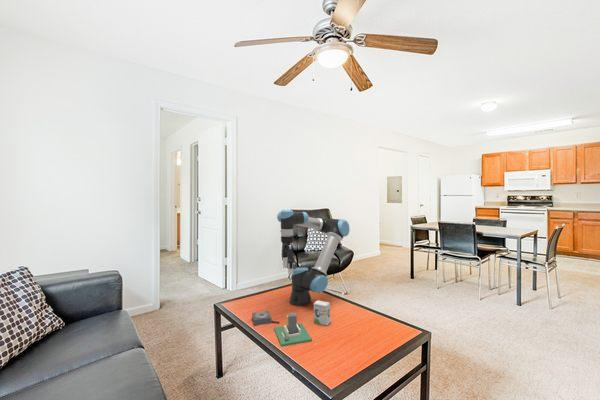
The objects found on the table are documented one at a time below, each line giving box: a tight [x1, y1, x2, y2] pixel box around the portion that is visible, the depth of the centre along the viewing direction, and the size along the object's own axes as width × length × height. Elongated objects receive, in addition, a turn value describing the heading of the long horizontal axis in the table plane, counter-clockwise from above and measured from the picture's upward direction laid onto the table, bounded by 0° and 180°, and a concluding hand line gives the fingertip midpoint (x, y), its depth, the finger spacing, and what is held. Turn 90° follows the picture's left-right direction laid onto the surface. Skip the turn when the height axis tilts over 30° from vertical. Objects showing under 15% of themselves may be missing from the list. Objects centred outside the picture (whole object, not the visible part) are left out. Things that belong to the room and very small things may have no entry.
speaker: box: [251, 310, 273, 326], centre depth 165 cm, size 10×10×4 cm
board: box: [274, 322, 313, 347], centre depth 148 cm, size 16×18×4 cm
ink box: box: [313, 299, 331, 326], centre depth 161 cm, size 9×5×12 cm, turn 62°
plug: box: [286, 311, 298, 334], centre depth 147 cm, size 5×4×10 cm
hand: (287, 270), depth 167 cm, fingers open, 13 cm apart
